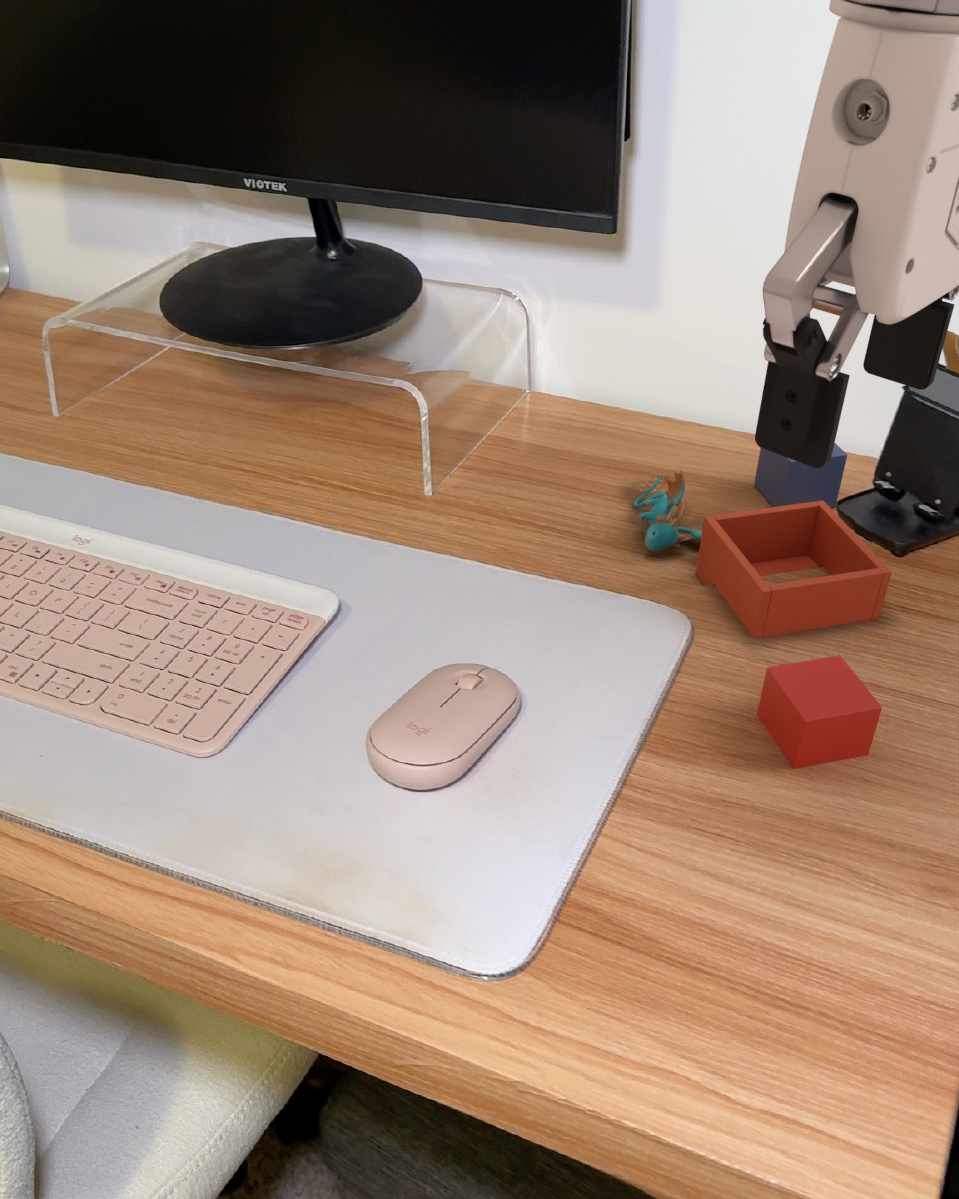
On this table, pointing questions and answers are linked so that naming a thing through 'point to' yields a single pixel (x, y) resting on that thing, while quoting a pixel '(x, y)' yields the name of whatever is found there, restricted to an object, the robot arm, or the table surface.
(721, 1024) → the table surface
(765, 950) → the table surface
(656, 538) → the dragon figurine
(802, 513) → the red bin
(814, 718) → the red block
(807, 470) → the blue block
